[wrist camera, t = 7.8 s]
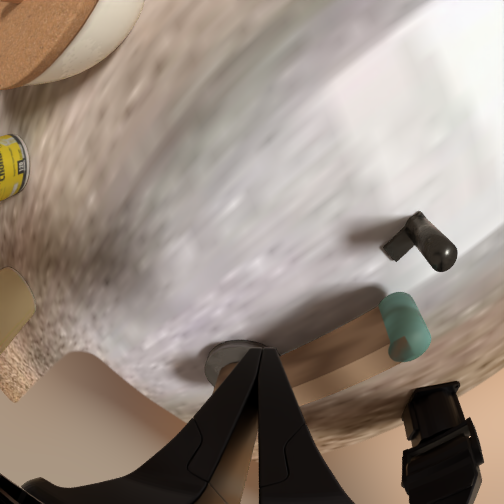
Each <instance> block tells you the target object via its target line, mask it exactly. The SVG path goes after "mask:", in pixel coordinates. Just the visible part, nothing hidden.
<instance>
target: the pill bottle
mask: <svg viewBox="0 0 504 504" xmlns="http://www.w3.org/2000/svg"><path fill="white" fill-rule="evenodd" d="M29 167H30V163H29V155H28V151H27V148H26V145H25V143H24V142H23V140H22V139H21V138H20V137H19V136H17V135H14V134H9V135H5V136H1V137H0V201H2V200H4V199H6V198H8V197H10V196H12V195H15V194H17V193H19V192H20V191H21V190H22V189H23V188H24V187H25V185H26V183H27V180H28V176H29Z"/></svg>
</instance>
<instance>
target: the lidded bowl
mask: <svg viewBox="0 0 504 504" xmlns="http://www.w3.org/2000/svg"><path fill="white" fill-rule="evenodd" d="M144 2H145V0H0V90H7V89H13V88H17V87H21V86H29V85H38V84H44V83H49V82H55V81H59V80H62V79H65V78H69V77H72V76H74V75H77V74H79V73H81V72H83V71H85V70H87V69H89V68H91V67H93V66H94V65H96V64H97V63H99V62H100V61H102V60H103V59H104V58H105V57H107V56H108V55H109V54H110V53H112V52H113V51H114V50H115V49H116V48H117V47H118V46H119V45H120V44H121V43H122V41H123V40H124V39H125V38H126V37H127V35H128V34H129V33H130V31H131V30H132V28H133V27H134V25H135V23H136V21H137V20H138V18H139V16H140V13H141V11H142V9H143V6H144Z"/></svg>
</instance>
